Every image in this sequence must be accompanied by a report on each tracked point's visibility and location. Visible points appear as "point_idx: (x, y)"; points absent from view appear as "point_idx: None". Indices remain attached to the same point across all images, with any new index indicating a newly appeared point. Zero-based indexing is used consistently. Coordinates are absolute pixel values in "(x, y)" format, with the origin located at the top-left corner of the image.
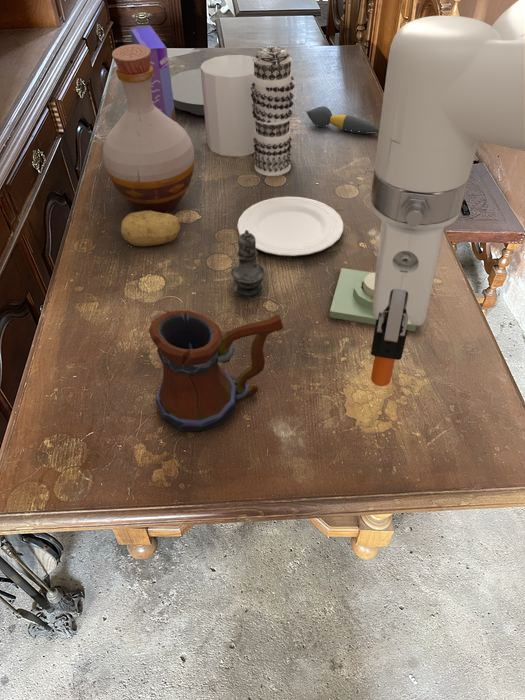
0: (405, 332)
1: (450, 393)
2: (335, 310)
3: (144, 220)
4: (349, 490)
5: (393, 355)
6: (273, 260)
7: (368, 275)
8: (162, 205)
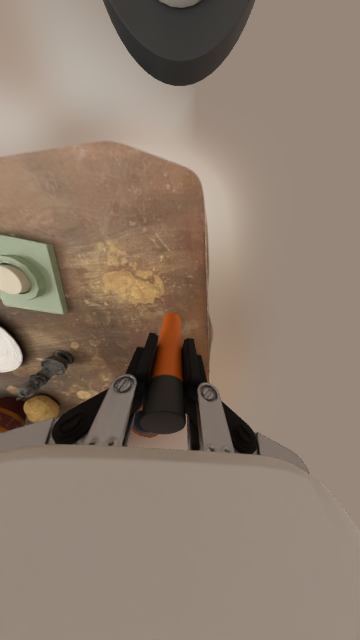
0: (199, 380)
1: (116, 221)
2: (61, 310)
3: (39, 419)
4: (203, 302)
5: (200, 356)
6: (26, 346)
7: (2, 290)
8: (16, 409)
